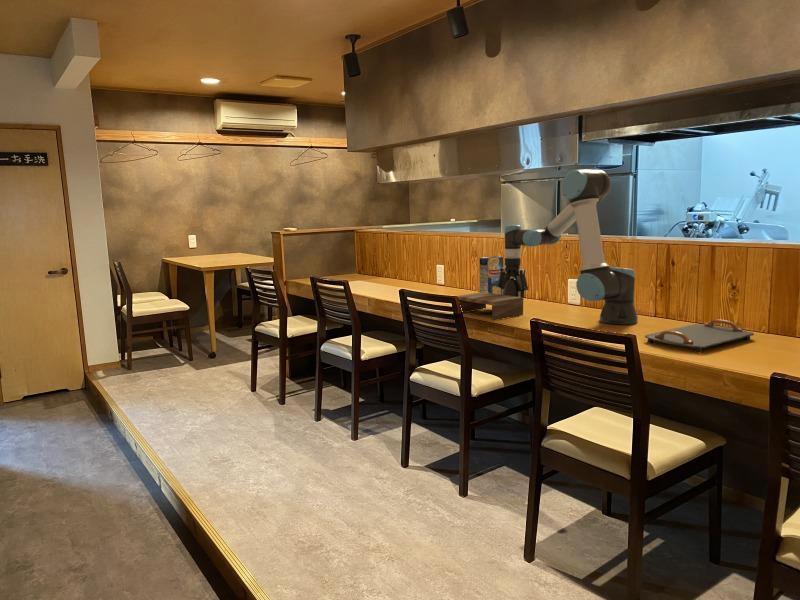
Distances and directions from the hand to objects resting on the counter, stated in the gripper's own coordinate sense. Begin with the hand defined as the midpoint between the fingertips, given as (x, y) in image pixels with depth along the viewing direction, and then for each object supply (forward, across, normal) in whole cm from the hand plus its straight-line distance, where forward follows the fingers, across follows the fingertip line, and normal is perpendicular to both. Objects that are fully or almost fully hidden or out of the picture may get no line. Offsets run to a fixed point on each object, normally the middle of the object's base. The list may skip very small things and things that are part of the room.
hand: (512, 303), depth 291 cm
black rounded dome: (+3, 0, 0) cm, 3 cm away
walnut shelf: (+3, -1, +17) cm, 17 cm away
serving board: (+3, -92, +1) cm, 92 cm away
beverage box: (+3, +31, -17) cm, 35 cm away
